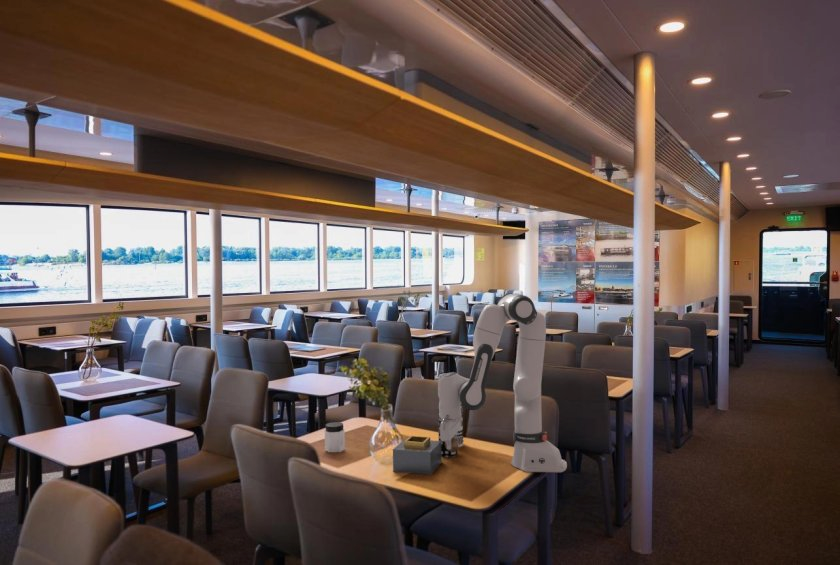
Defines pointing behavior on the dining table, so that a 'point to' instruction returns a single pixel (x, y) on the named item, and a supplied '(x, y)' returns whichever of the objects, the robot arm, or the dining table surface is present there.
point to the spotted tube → (443, 449)
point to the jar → (334, 437)
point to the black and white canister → (460, 431)
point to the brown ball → (453, 445)
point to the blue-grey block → (417, 455)
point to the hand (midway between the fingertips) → (451, 446)
